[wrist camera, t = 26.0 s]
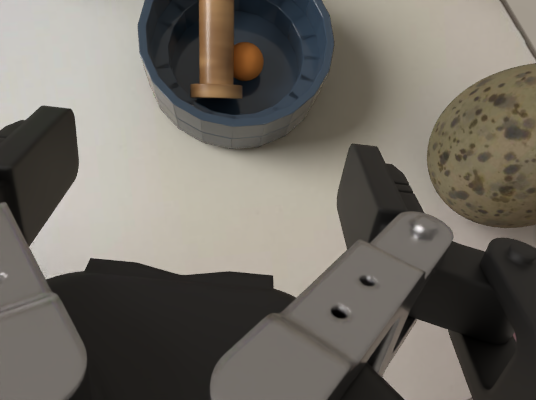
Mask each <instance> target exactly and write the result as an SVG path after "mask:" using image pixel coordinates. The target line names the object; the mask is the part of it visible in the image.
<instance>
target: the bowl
mask: <svg viewBox="0 0 536 400" xmlns="http://www.w3.org/2000/svg"><path fill="white" fill-rule="evenodd" d="M138 38H139V52H140V56H141V59H142V62H143V66H144V69H145V72H146V75H147V78H148V81H149V84H150V87H151V89H152V91H153V93H154V96H155V98H156V100H157V102H158V105H159V107H160V108H161V110H162V111H163V112H164V113H165V114H166V115H167V117H168V118H169V119H170V120H171V121H172V122H173V123H174V124H175V125H176V126H177V127H178V129H180V130H182V131H184V132H185V133H187V134H189V135H191V136H192V137H194V138H196V139H198V140H200V141H201V142H204V143H207V144H212V145H216V146H221V147H225V148H231V149H236V148H248V147H259V146H262V145H264V144H267V143H269V142H271V141H274V140H276V139H279V138H281V137H283V136H285V135H286V134H287V133H289V132H290V131H291V130H292V129H293V128H294V127H296V126H297V125H298V124H299V123H300V122H301V121H303V119H304V118H305V116H306V115H307V113H308V111H309V110H310V108H311V106H312V104H313V103H314V101H315V99H316V97H317V95H318V93H319V91H320V89H321V87H322V85H323V83H324V81H325V79H326V76H327V74H328V72H329V70H330V65H331V60H332V54H333V49H334V37H333V31H332V25H331V19H330V15H329V13H328V11H327V9H326V8H325V6H324V4H323V2H322V0H234V45H236V44H238V43H241V42H249V43H252V44H254V45H255V46H257V47H258V48H259V49H260V51H261V53H262V55H263V59H264V64H263V69H262V71H261V73H260V74H259V75H258V76H257V77H256V78H254V79H252V80H250V81H241V80H238V79H236V78H234V83H233V85H241V86H243V91H242V99H223V98H191V97H190V84H199V0H145V2H144V5H143V9H142V12H141V15H140V19H139V22H138Z"/></svg>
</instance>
